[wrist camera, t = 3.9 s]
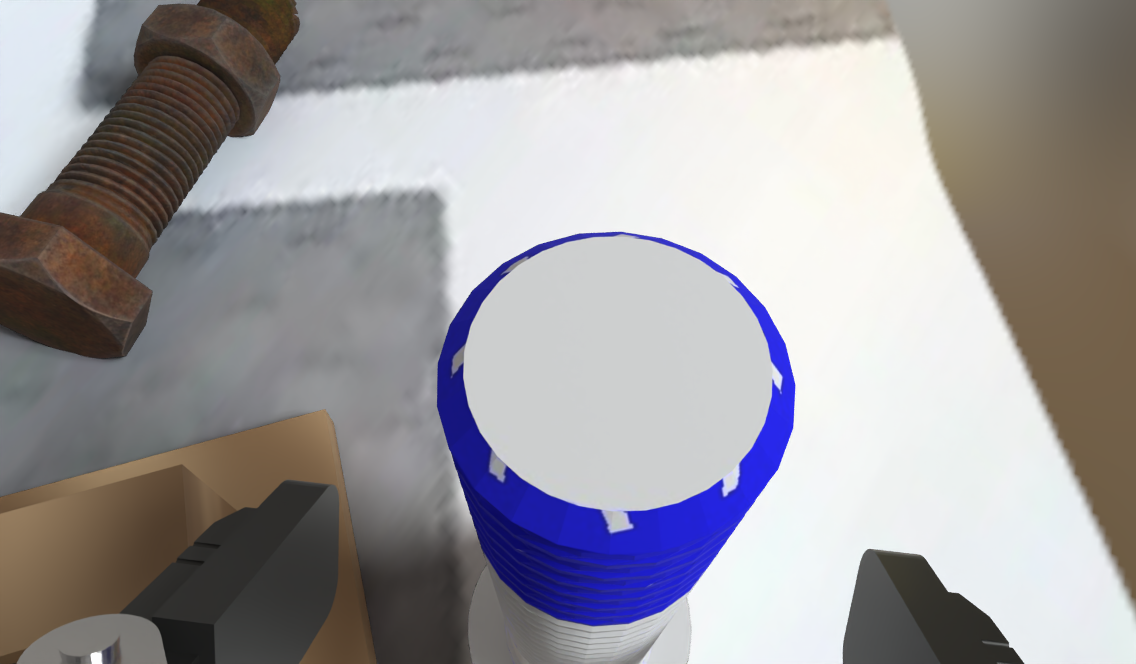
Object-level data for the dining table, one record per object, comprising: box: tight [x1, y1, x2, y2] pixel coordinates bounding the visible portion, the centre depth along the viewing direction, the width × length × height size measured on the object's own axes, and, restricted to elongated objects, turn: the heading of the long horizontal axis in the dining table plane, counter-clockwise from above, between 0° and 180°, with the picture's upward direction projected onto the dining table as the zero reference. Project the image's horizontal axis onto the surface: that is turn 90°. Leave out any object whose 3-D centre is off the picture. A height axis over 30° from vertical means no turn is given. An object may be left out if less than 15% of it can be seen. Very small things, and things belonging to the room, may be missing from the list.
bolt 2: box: [437, 232, 795, 664], centre depth 13 cm, size 16×5×5 cm
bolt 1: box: [0, 0, 300, 358], centre depth 26 cm, size 6×5×15 cm
